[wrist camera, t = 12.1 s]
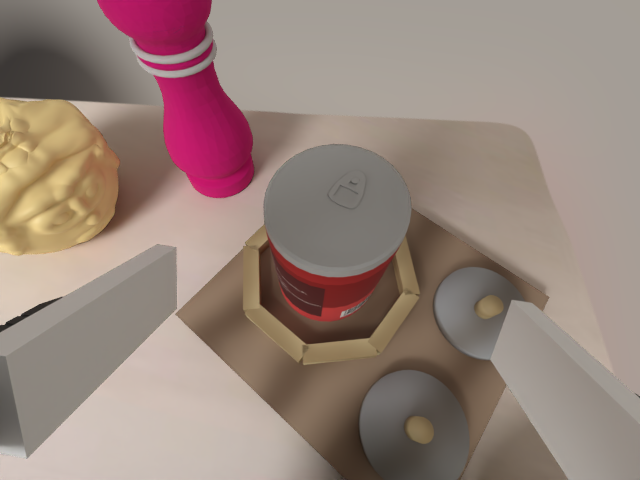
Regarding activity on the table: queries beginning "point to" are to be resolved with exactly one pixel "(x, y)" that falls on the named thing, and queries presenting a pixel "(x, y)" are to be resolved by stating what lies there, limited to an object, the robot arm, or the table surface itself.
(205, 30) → the pepper mill
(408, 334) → the board
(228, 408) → the table surface
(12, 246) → the sculpture
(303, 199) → the canned food
